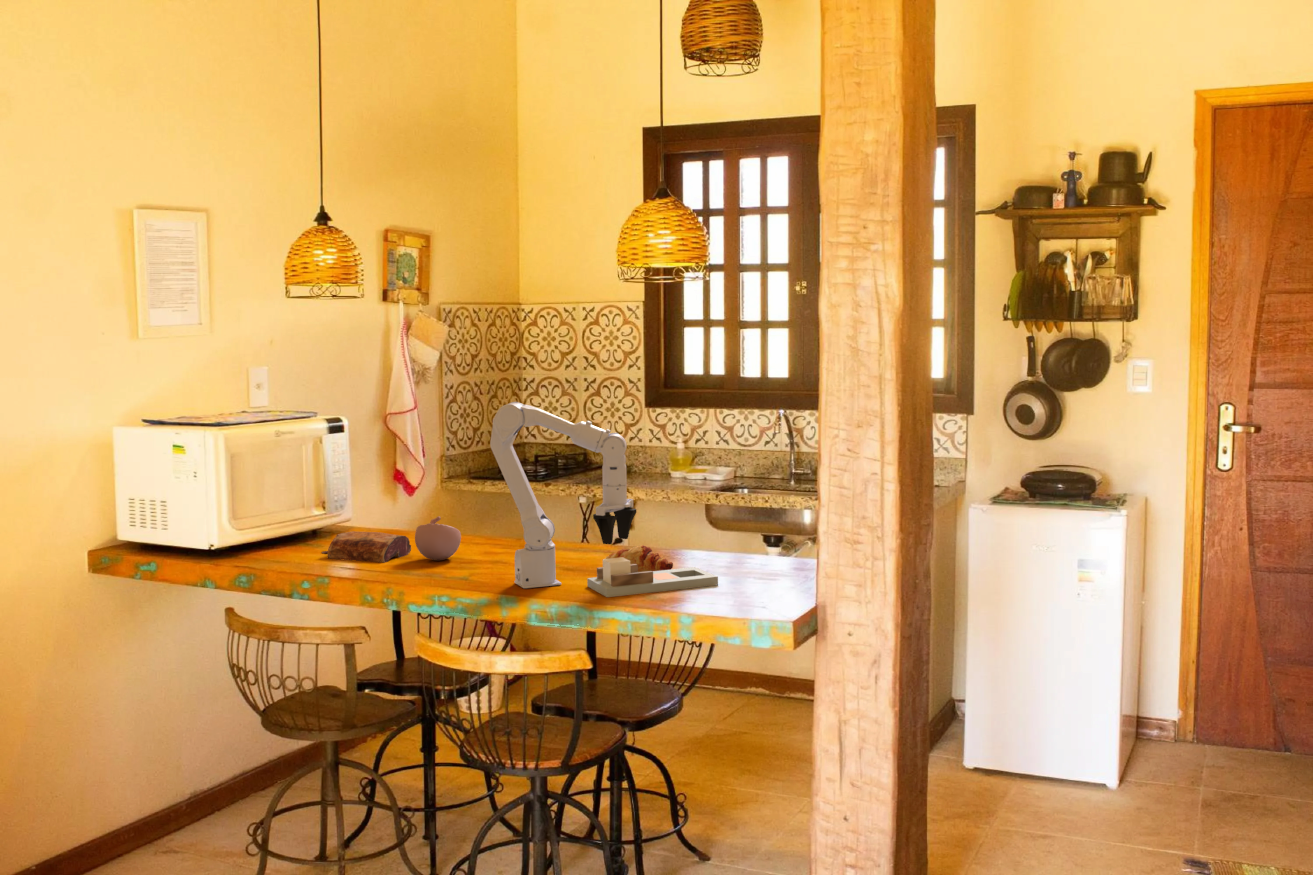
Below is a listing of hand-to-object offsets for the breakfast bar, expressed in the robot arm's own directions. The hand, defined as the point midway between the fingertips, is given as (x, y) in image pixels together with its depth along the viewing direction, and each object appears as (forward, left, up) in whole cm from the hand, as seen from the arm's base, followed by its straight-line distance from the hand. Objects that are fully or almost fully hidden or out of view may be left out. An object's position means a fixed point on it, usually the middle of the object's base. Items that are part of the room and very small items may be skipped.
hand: (615, 541), depth 305 cm
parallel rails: (0, -7, -8) cm, 10 cm away
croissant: (+11, +12, -11) cm, 19 cm away
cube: (-2, -7, -8) cm, 11 cm away
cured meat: (-48, +68, -11) cm, 84 cm away
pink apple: (-31, +50, -10) cm, 60 cm away
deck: (+7, -7, -10) cm, 14 cm away
